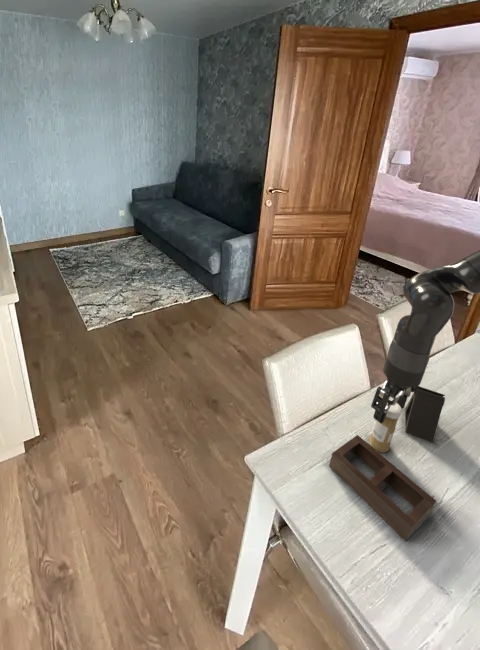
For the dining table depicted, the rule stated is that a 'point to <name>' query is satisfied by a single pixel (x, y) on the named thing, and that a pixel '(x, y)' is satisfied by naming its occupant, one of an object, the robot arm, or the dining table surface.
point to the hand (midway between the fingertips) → (388, 413)
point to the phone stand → (423, 413)
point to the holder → (382, 486)
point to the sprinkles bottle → (385, 429)
